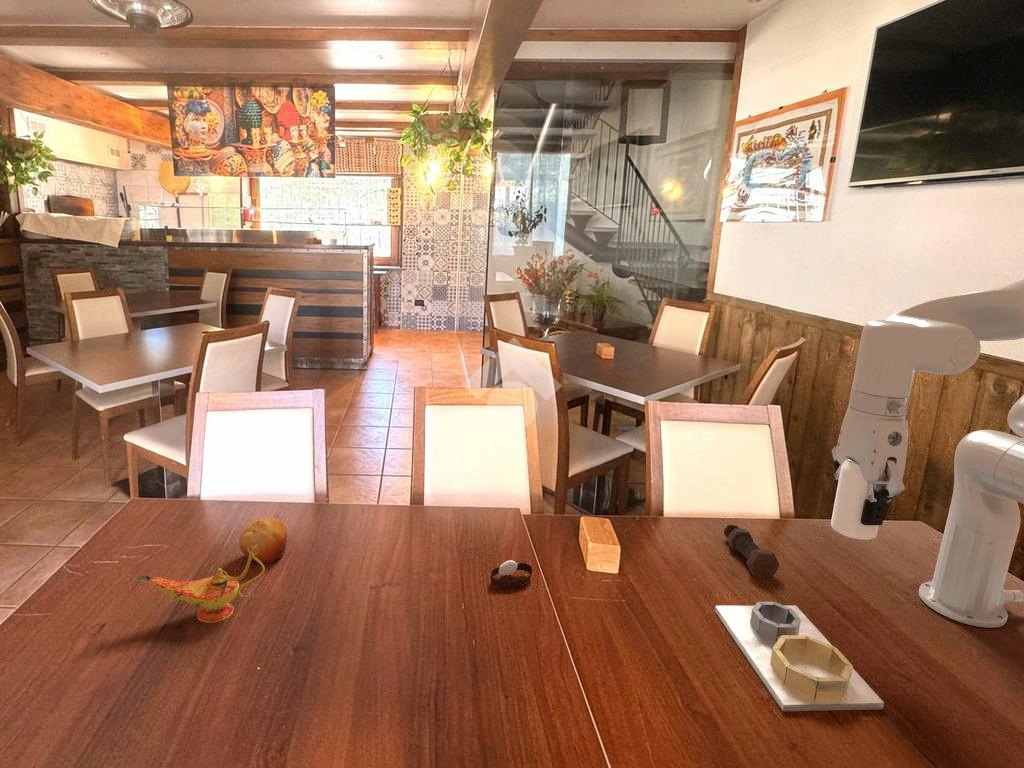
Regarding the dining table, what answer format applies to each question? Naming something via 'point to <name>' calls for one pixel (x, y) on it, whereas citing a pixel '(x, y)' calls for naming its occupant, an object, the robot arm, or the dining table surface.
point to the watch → (508, 569)
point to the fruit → (264, 539)
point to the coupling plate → (796, 659)
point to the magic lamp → (206, 591)
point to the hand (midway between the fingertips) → (856, 512)
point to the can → (852, 503)
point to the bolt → (752, 552)
